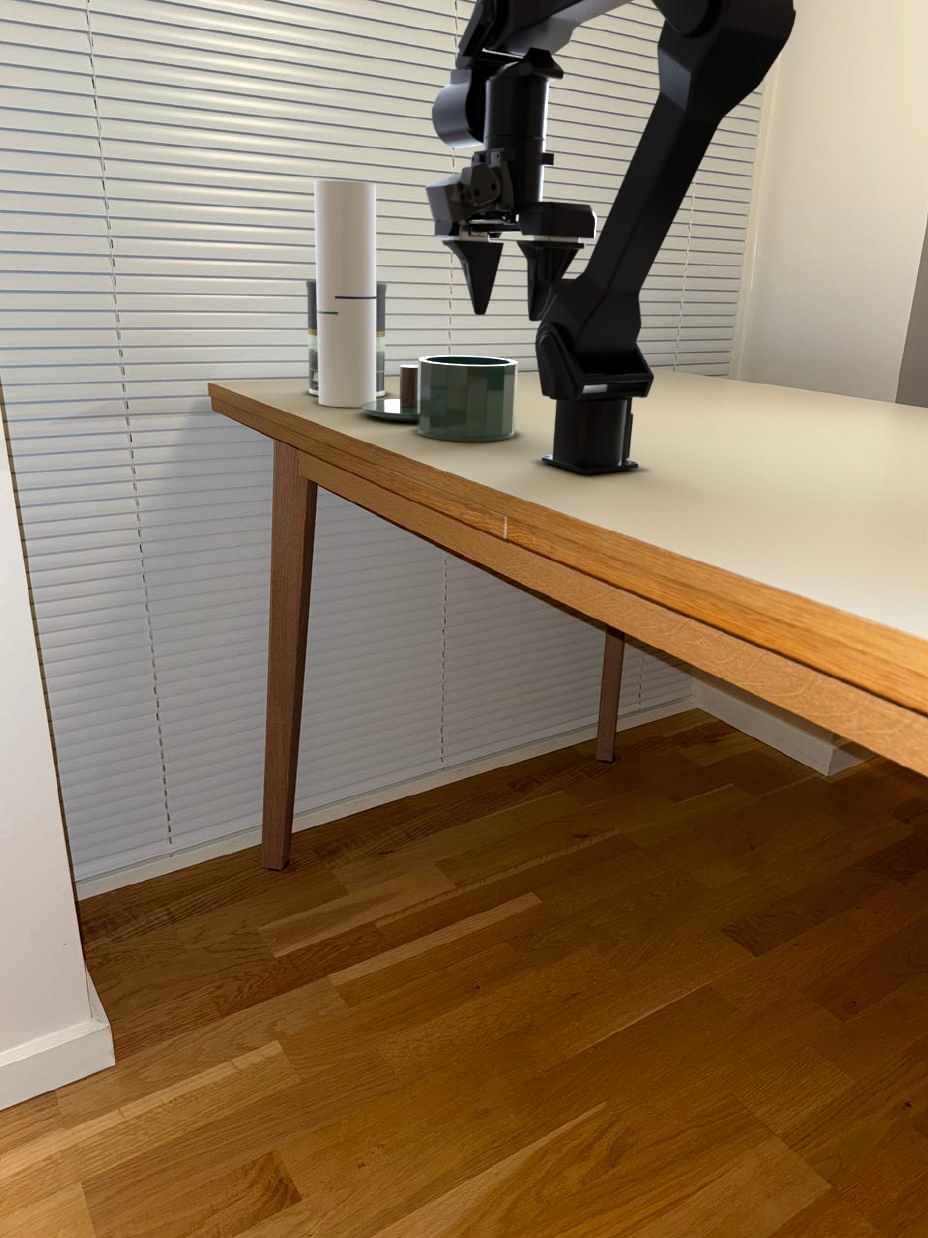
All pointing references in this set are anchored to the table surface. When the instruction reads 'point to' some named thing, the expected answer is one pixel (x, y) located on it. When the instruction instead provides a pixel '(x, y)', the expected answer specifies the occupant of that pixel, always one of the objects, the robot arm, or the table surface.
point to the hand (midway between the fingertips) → (506, 317)
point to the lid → (401, 407)
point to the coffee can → (314, 343)
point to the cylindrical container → (346, 292)
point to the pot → (467, 398)
